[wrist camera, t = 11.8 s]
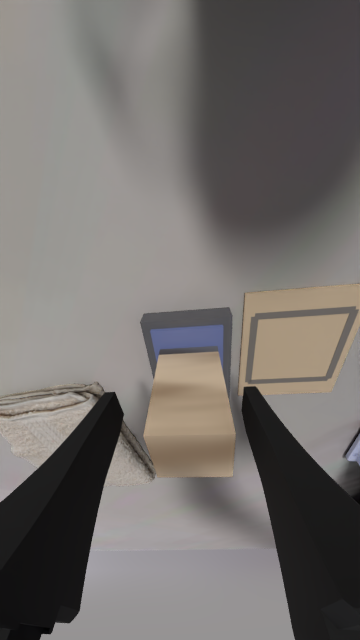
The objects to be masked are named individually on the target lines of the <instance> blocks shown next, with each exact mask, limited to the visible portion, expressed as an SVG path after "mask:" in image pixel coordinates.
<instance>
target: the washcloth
mask: <svg viewBox="0 0 360 640" xmlns="http://www.w3.org/2000/svg"><path fill="white" fill-rule="evenodd" d="M104 393H105V392H104V391H103V388H102V387H101V386H100V385H99V383H98V382H94V384H91V385H89V386H88V385H84V384H81V385H80V384H66V385H59V386H53V387H49V388H45V389H41V390H34V391H27V392H21V393H15V394H10V395H5V396H2V397H0V433H1V435H2V436H3V437H4V438H5V439H6V440H7V441H8V443H9V444H10V445H11V453H12V454H13V455H15V456H17V457H20V458H23V459H25V460H26V461H28V462H30V463H31V464H32V465H34V466H35V467H36V468H37V469H38V468H39V467H40V466H41V465H42V464H43V463H44V462H45V461H46V460H47V459H48V458H49V457H50V456H51V455H52V454H53V453H54V452H55V450H56V449H57V448H58V447H59V446H60V445H61V444H62V443H63V442H64V441H65V439H66V438H67V437H68V436H69V435H70V434H71V433H72V432H73V430H74V429H75V428H76V427H77V426H78V425H79V423H80V422H81V421H82V420H83V419H84V417H85V416H86V415H87V414H88V412H89V411H90V410H91V409H92V407H93V406H94V405H95V404H96V402H97V401H98V400H99V399H100V398H101V396H102V395H103V394H104ZM155 474H156V471H155V468H154V465H153V464H152V462H151V461H150V460H149V458H148V456H147V455H146V453H144V451H143V450H142V448H141V446H140V444H139V442H137V441H136V438H135V437H134V436H133V434H132V433H130V431H129V429H128V428H127V427H126V425H125V424H124V422H122V427H121V432H120V435H119V439H118V442H117V445H116V448H115V452H114V455H113V458H112V461H111V464H110V467H109V470H108V474H107V477H106V480H105V484H104V487H107V486H112V485H116V486H125V485H126V486H129V485H139V484H146V483H148V484H149V483H151V482H152V481H153V480H154V478H155Z"/></svg>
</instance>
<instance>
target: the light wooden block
mask: <svg viewBox="0 0 360 640" xmlns="http://www.w3.org/2000/svg"><path fill="white" fill-rule="evenodd" d="M143 437H144V440H145V442H146V445H147V448H148V451H149V454H150V457H151V460H152V462H153V465H154V468H155V471H156V474H157V477H233V465H234V451H235V437H236V433H235V428H234V423H233V419H232V414H231V409H230V404H229V399H228V395H227V390H226V385H225V380H224V375H223V371H222V366H221V361H220V356H219V351H218V346H206V347H189V348H173V349H160V351H159V356H158V361H157V367H156V372H155V377H154V383H153V388H152V393H151V398H150V404H149V409H148V414H147V420H146V425H145V430H144V435H143Z"/></svg>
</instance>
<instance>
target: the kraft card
mask: <svg viewBox="0 0 360 640" xmlns="http://www.w3.org/2000/svg"><path fill="white" fill-rule="evenodd" d="M359 326H360V284H349V285H337V286H324V287H312V288H299V289H287V290H274V291H262V292H249V293H245V296H244V310H243V325H242V339H241V354H240V368H239V382H238V396H243V389H244V387H247V386H256V387H257V388H258V390H259V391H260V393H261V394H262V395H271V394H296V393H322V392H331V391H332V389H333V387H334V384H335V382H336V380H337V377H338V375H339V373H340V370H341V368H342V366H343V363H344V361H345V359H346V356H347V354H348V352H349V349H350V347H351V344H352V342H353V340H354V337H355V335H356V333H357V330H358V328H359Z"/></svg>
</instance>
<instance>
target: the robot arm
mask: <svg viewBox="0 0 360 640" xmlns="http://www.w3.org/2000/svg"><path fill="white" fill-rule="evenodd" d="M242 415H243V420H244V424H245V429H246V433H247V436H248V439H249V443H250V446H251V449H252V452H253V456H254V459H255V462H256V465H257V469H258V472H259V475H260V478H261V482H262V486H263V489H264V494H265V498H266V502H267V507H268V511H269V516H270V520H271V525H272V529H273V534H274V538H275V543H276V548H277V553H278V557H279V562H280V567H281V572H282V576H283V582H284V587H285V592H286V597H287V603H288V607H289V613H290V618H291V624H292V629H293V633H294V637H295V640H360V505H359V504H358V503H357V502H356V501H355V500H354V499H353V498H352V497H351V496H350V495H349V494H348V493H347V492H345V491H344V490H343V489H342V488H341V487H340V486H339V485H338V484H337V483H336V482H335V481H334V480H333V479H332V478H331V477H330V476H329V475H328V474H327V473H326V472H325V471H324V470H323V469H322V468H321V467H320V466H319V465H318V464H317V462H316V461H315V460H314V459H313V458H312V457H311V456H310V455H309V454H308V453H307V452H306V451H305V449H304V448H303V447H302V446H301V445H300V444H299V443H298V441H297V440H296V439H295V438H294V437H293V436H292V434H291V433H290V432H289V431H288V429H287V428H286V427H285V426H284V424H283V423H282V422H281V421H280V419H279V418H278V417H277V415H276V414H275V413H274V411H273V410H272V409H271V407H270V406H269V404H268V403H267V402H266V400H265V399H264V397H263V396H262V394H261V393H260V391H259V390H258V388H257V387H256V386H247V387H244V389H243V401H242ZM123 416H124V413H123V411H122V408H121V406H120V404H119V401H118V399H117V396H116V394H115V392H106V393H104V394H103V395H102V396H101V398H100V399H99V400H98V401H97V402H96V404H95V405H94V406H93V407H92V409H91V410H90V411H89V412H88V414H87V415H86V416H85V417H84V419H83V420H82V421H81V422H80V423H79V425H78V426H77V427H76V428H75V429H74V430H73V432H72V433H71V434H70V435H69V436H68V437H67V438H66V439H65V441H64V442H63V443H62V444H61V445H60V446H59V447H58V448H57V449H56V450H55V452H54V453H53V454H52V455H51V456H50V457H49V458H48V459H47V460H46V461H45V462H44V463H43V464H42V465H41V466H40V467H39V468H38V469H37V470H36V471H35V472H34V473H33V474H32V475H30V476H29V477H28V478H27V479H26V480H25V481H24V482H23V483H22V484H21V485H20V486H19V487H17V488H16V489H15V490H14V491H13V492H12V493H11V494H10V495H9V496H7V497H6V498H5V499H4V500H3V501H2V502H0V640H40V637H41V634H51V633H52V631H53V627H54V624H55V622H57V623H70V622H71V621H72V620H73V619H74V618H75V617H76V615H77V614H78V612H79V611H80V604H81V598H82V591H83V586H84V580H85V574H86V568H87V562H88V557H89V552H90V547H91V542H92V536H93V532H94V527H95V522H96V517H97V513H98V508H99V504H100V500H101V495H102V491H103V487H104V484H105V480H106V477H107V474H108V470H109V467H110V464H111V461H112V458H113V455H114V452H115V448H116V445H117V442H118V439H119V435H120V432H121V427H122V422H123ZM345 457H346V458H347V460H348V461H357V463H358V464H359V466H360V434H359V435H358V437H357V438H356V440H355V442H354V443H353V445H352V446H351V448H350V449H349V451H348V453H347V454H346V456H345Z"/></svg>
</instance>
